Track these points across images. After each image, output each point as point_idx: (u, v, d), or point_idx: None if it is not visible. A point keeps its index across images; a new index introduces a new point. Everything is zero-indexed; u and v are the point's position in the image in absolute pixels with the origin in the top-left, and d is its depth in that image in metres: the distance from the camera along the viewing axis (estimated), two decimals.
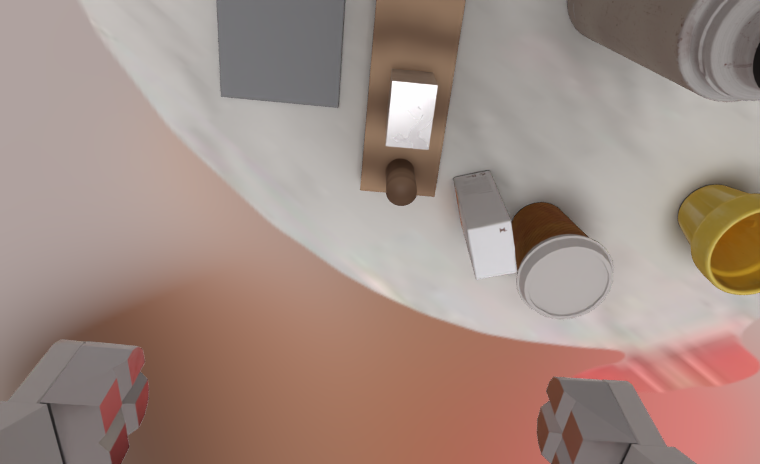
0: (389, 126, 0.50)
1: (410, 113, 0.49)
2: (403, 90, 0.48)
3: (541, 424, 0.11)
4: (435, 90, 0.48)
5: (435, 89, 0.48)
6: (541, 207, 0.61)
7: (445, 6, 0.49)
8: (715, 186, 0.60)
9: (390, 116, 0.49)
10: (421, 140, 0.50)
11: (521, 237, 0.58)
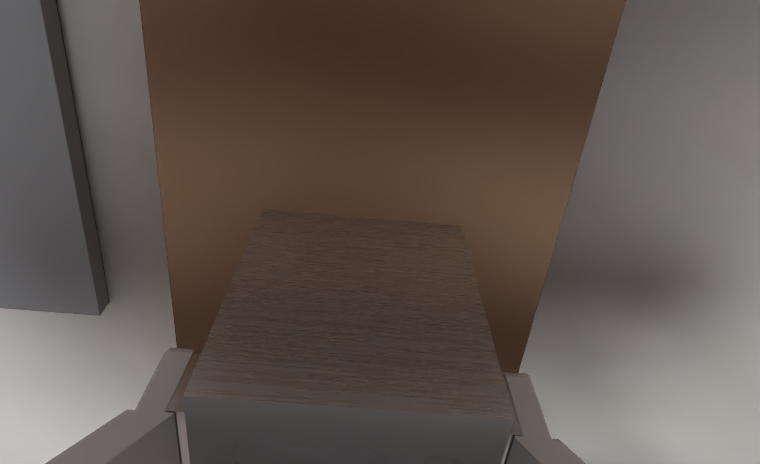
0: None
1: None
2: (267, 445, 0.07)
3: None
4: (495, 444, 0.07)
5: (495, 440, 0.07)
6: None
7: None
8: None
9: None
10: None
11: None
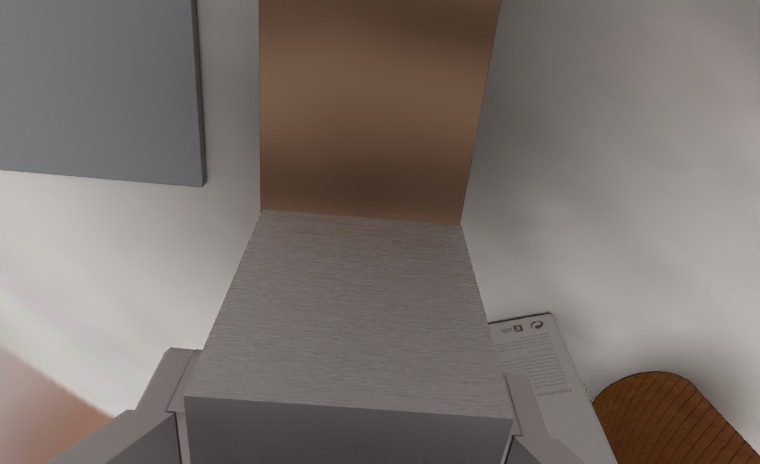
0: None
1: None
2: (266, 445, 0.07)
3: None
4: (494, 443, 0.07)
5: (495, 440, 0.07)
6: (661, 389, 0.28)
7: None
8: None
9: None
10: None
11: None
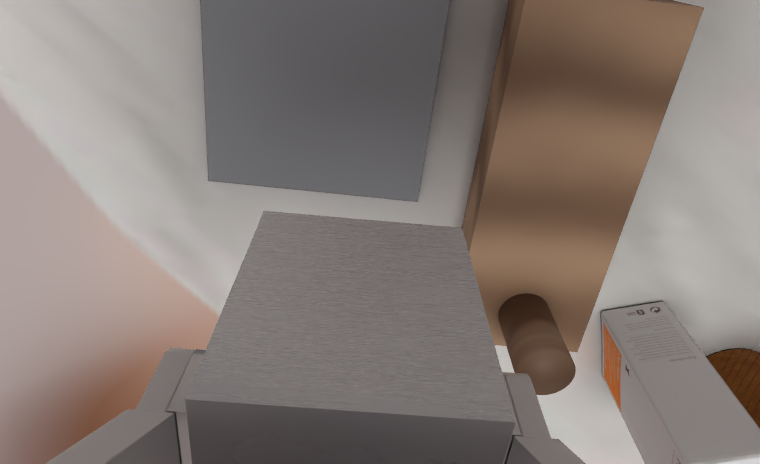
0: None
1: None
2: (268, 447, 0.07)
3: None
4: (496, 447, 0.07)
5: (496, 443, 0.07)
6: (746, 361, 0.36)
7: (658, 28, 0.25)
8: None
9: None
10: None
11: None
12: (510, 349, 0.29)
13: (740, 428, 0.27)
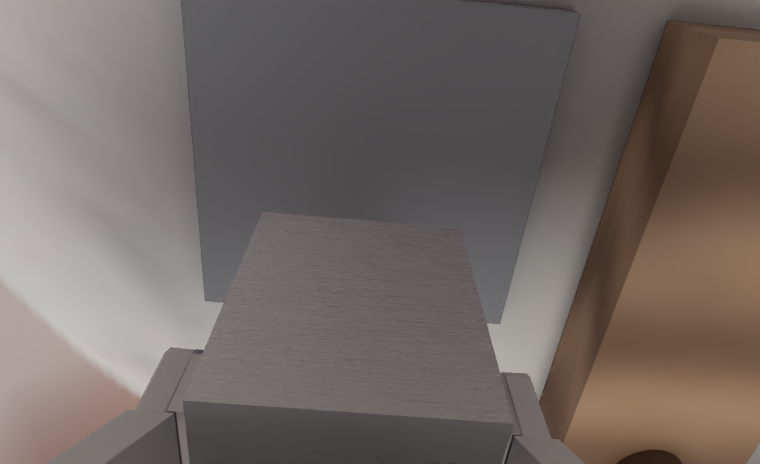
0: None
1: None
2: (266, 449, 0.07)
3: None
4: (494, 448, 0.07)
5: (494, 444, 0.07)
6: None
7: None
8: None
9: None
10: None
11: None
12: None
13: None
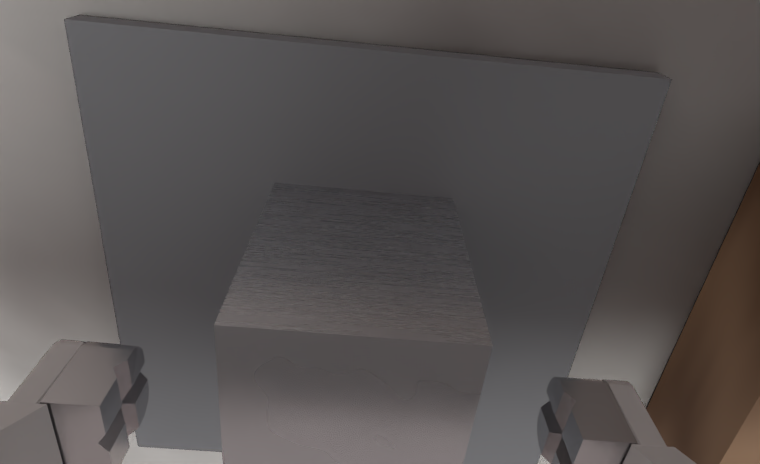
0: None
1: (336, 462, 0.09)
2: (283, 370, 0.08)
3: (541, 424, 0.11)
4: (476, 369, 0.08)
5: (477, 365, 0.08)
6: None
7: None
8: None
9: None
10: None
11: None
12: None
13: None
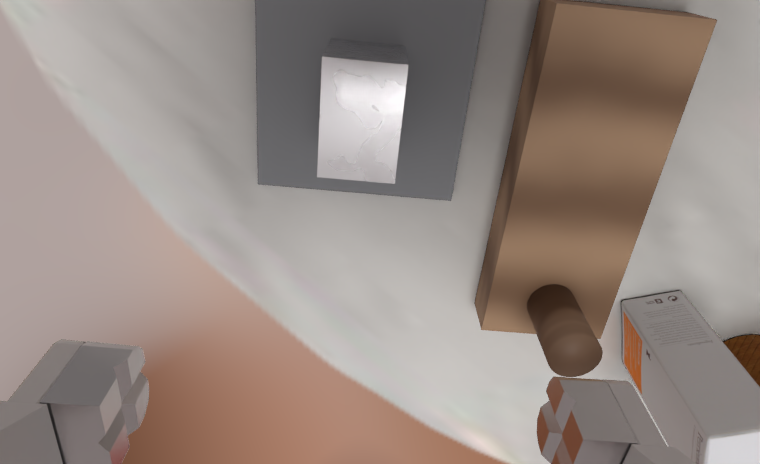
0: (321, 142, 0.27)
1: (358, 118, 0.26)
2: (342, 75, 0.25)
3: (541, 424, 0.11)
4: (404, 74, 0.25)
5: (404, 72, 0.25)
6: (759, 346, 0.39)
7: (676, 39, 0.27)
8: None
9: (322, 123, 0.27)
10: (381, 167, 0.28)
11: None
12: (540, 335, 0.32)
13: (756, 404, 0.29)
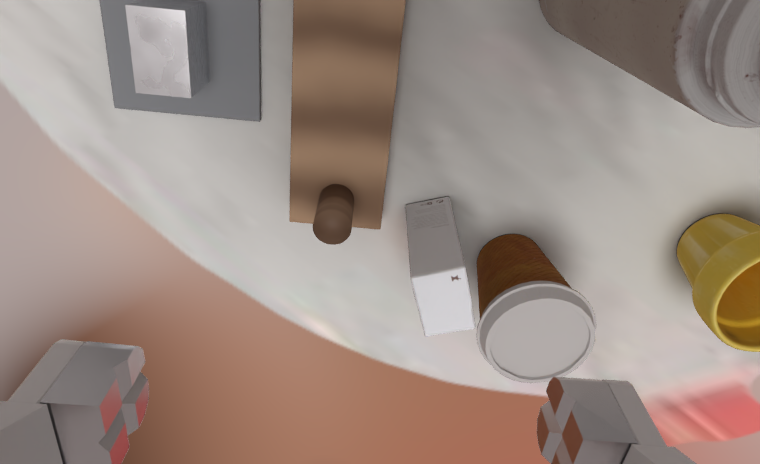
0: (134, 66, 0.39)
1: (157, 49, 0.38)
2: (141, 18, 0.37)
3: (541, 424, 0.11)
4: (183, 17, 0.37)
5: (182, 16, 0.37)
6: (512, 240, 0.50)
7: None
8: (722, 216, 0.50)
9: (133, 53, 0.38)
10: (180, 85, 0.39)
11: (485, 279, 0.48)
12: None
13: (451, 257, 0.41)
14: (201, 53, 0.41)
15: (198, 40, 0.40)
